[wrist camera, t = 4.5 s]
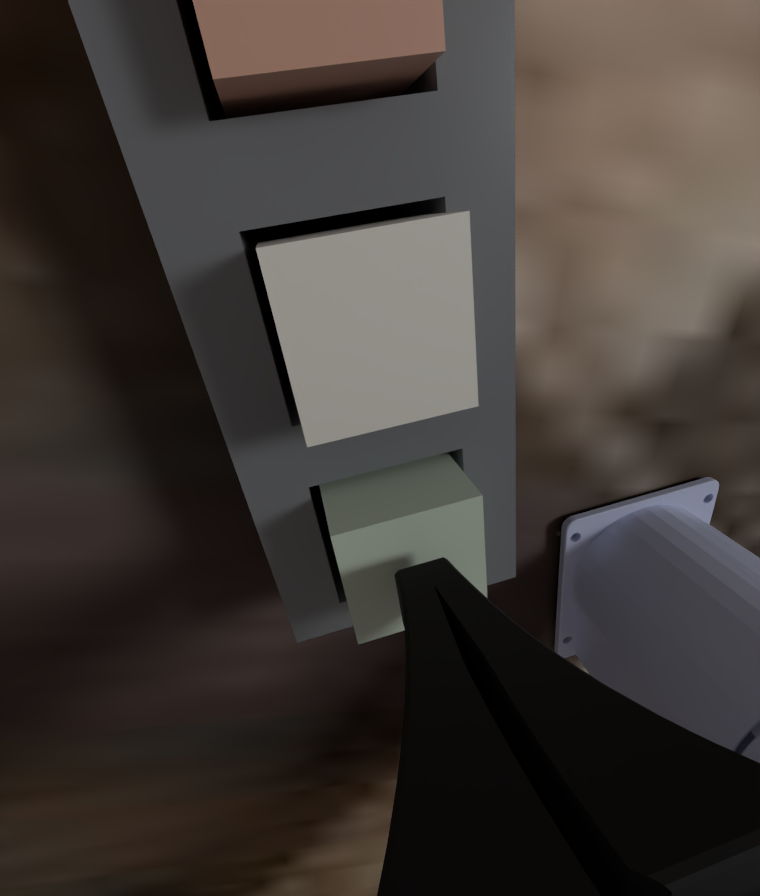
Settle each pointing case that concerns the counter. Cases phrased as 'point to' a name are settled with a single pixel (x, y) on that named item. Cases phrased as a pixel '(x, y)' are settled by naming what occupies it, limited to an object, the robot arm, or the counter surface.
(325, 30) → the brown cube
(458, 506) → the sage key
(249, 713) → the counter surface
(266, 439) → the keypad
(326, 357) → the cream cube
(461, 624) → the robot arm
